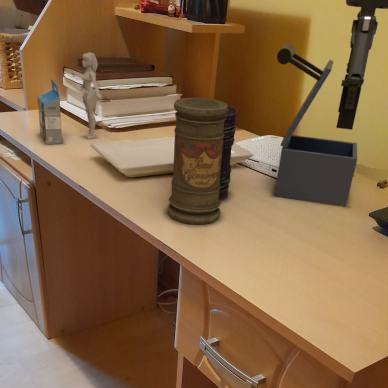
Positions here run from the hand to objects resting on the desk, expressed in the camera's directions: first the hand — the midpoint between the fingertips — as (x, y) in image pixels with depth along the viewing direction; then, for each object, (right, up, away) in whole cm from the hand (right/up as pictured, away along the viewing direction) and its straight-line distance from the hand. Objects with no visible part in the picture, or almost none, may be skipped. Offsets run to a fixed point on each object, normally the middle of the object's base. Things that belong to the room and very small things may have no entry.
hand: (344, 120), depth 95 cm
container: (-28, -19, -5) cm, 34 cm away
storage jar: (-26, -12, +4) cm, 29 cm away
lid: (-7, +3, 0) cm, 7 cm away
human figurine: (-52, +9, +31) cm, 61 cm away
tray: (-32, -2, +17) cm, 37 cm away
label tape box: (-61, +7, +27) cm, 67 cm away
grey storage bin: (-4, -11, +9) cm, 14 cm away
